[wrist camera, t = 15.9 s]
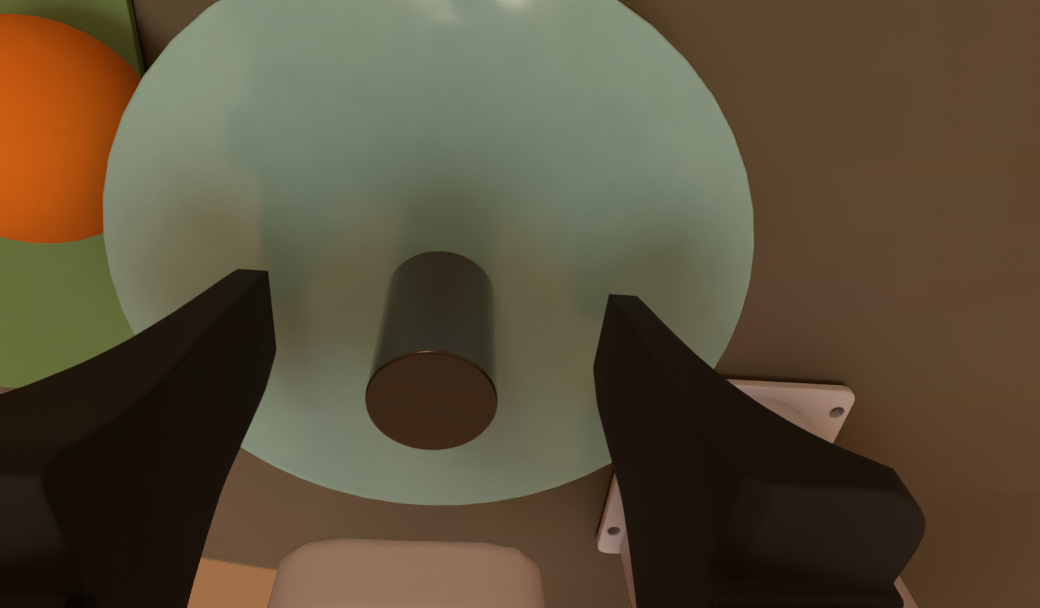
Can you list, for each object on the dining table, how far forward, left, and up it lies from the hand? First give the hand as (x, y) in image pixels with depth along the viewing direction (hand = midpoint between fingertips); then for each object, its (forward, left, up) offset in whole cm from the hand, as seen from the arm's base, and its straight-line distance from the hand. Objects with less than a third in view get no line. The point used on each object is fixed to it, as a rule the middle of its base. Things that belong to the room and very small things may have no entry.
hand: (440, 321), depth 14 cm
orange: (+2, +9, -3) cm, 10 cm away
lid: (0, 0, -1) cm, 1 cm away
